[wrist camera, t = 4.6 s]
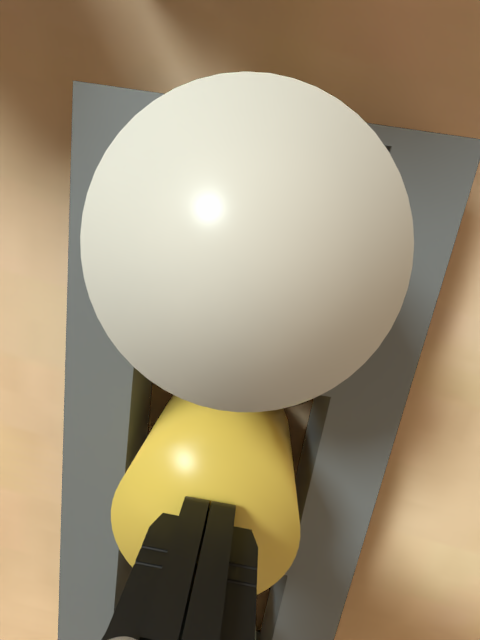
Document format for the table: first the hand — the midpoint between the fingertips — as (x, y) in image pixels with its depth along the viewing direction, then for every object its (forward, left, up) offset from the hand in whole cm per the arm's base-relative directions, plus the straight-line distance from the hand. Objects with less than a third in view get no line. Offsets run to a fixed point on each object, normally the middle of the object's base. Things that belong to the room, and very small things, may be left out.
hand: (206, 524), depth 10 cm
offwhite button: (+7, +4, -3) cm, 8 cm away
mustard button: (0, 0, -5) cm, 5 cm away
